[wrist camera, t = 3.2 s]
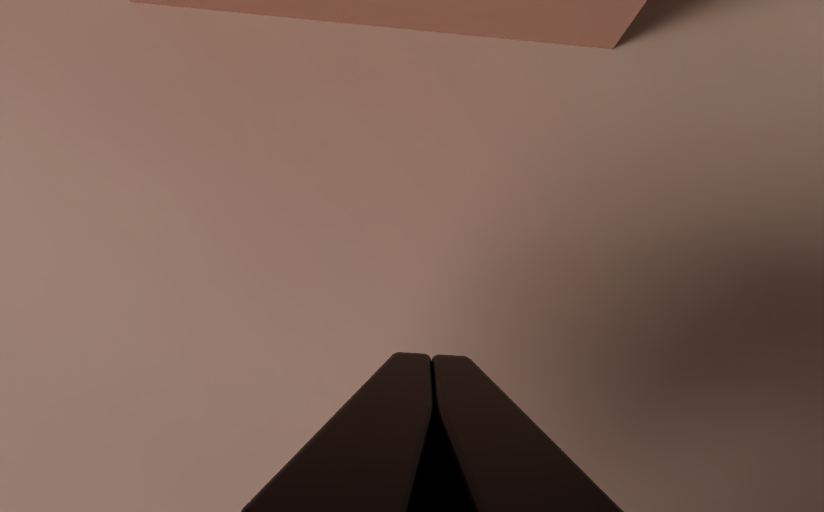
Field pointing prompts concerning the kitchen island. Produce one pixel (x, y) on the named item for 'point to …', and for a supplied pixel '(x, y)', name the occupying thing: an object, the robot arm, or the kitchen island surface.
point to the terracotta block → (457, 16)
